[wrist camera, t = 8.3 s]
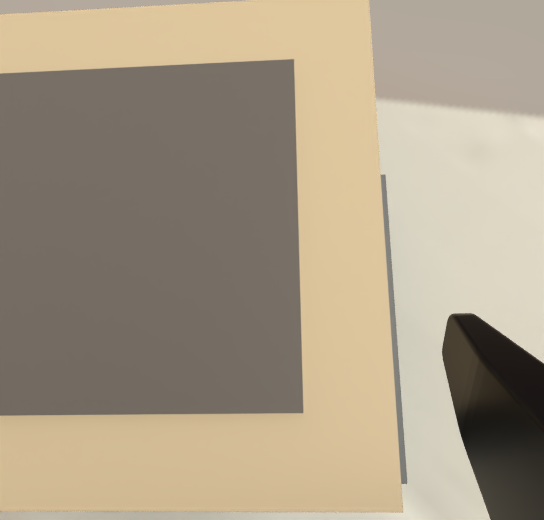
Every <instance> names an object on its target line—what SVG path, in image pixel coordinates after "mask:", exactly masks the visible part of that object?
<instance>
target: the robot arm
mask: <svg viewBox="0 0 544 520" xmlns="http://www.w3.org/2000/svg"><path fill="white" fill-rule="evenodd" d="M442 355H443V362H444V366H445V370H446V375H447V379H448V383H449V388H450V392H451V396H452V401H453V405H454V409H455V414H456V418H457V422H458V426H459V430H460V434H461V437H462V440H463V443H464V446H465V449H466V452H467V455H468V458H469V460H470V463H471V466H472V469H473V472H474V474H475V477H476V480H477V483H478V485H479V488H480V491H481V494H482V497H483V499H484V502H485V505H486V508H487V511H488V513H489V516H490V519H491V520H544V363H542V362H541V361H540V360H538V359H537V358H535V357H534V356H533V355H531V354H530V353H528V352H527V351H526V350H524V349H523V348H521V347H520V346H519V345H517V344H516V343H514V342H513V341H512V340H510V339H509V338H507V337H506V336H504V335H503V334H502V333H500V332H499V331H497V330H496V329H495V328H493V327H492V326H490V325H489V324H488V323H486V322H485V321H483V320H482V319H481V318H479V317H478V316H476V315H475V314H472V313H458V314H452V315H450V316H449V318H448V321H447V326H446V331H445V337H444V342H443V348H442Z"/></svg>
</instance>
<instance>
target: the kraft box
mask: <svg viewBox="0 0 544 520" xmlns="http://www.w3.org/2000/svg"><path fill="white" fill-rule="evenodd" d="M0 511H103V512H403V503H402V488H401V473H400V458H399V443H398V428H397V413H396V398H395V383H394V368H393V353H392V338H391V323H390V308H389V293H388V278H387V263H386V248H385V233H384V218H383V204H382V189H381V174H380V159H379V144H378V129H377V114H376V99H375V85H374V70H373V55H372V39H371V24H370V10H369V0H254V1H253V0H252V1H235V2H216V3H199V4H181V5H164V6H146V7H127V8H111V9H110V8H109V9H92V10H74V11H57V12H38V13H20V14H3V15H0Z"/></svg>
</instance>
